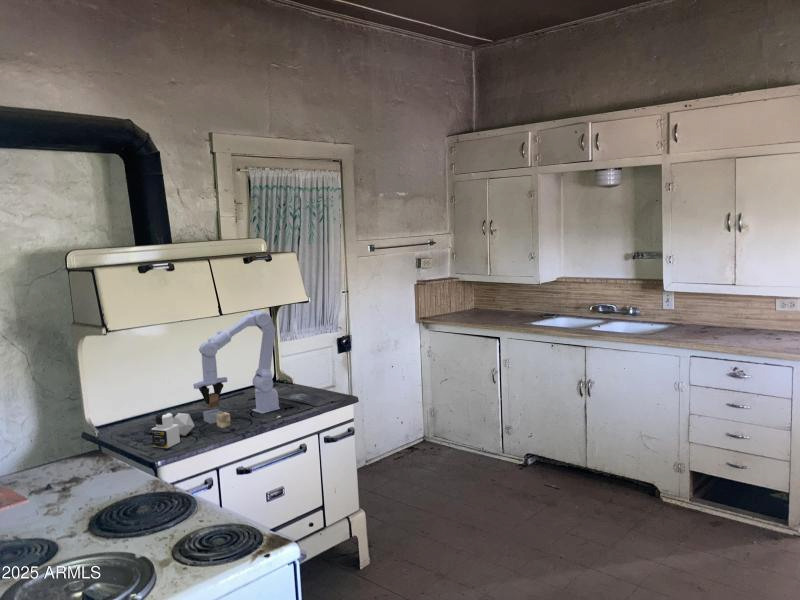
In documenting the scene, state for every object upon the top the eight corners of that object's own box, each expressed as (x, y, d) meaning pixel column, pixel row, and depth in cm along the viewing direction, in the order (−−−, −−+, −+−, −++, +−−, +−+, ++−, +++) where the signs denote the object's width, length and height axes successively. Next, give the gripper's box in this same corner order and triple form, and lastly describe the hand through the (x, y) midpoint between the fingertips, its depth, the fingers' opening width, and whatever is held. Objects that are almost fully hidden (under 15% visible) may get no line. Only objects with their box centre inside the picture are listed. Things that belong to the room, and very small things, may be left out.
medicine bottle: (152, 447, 245) (149, 416, 243) (165, 440, 251) (162, 410, 250) (167, 448, 242) (164, 417, 241) (180, 442, 249) (177, 411, 247)
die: (199, 433, 261) (192, 410, 265) (190, 429, 252) (183, 405, 256) (179, 442, 260) (173, 419, 264) (170, 438, 252) (163, 415, 256)
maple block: (225, 423, 270) (224, 412, 269) (230, 425, 267) (229, 413, 266) (216, 426, 267) (216, 414, 266) (222, 428, 264) (221, 416, 264)
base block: (217, 418, 279) (216, 408, 279) (223, 420, 275) (222, 411, 274) (203, 421, 275) (203, 412, 275) (210, 424, 271) (209, 414, 270)
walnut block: (219, 405, 274) (218, 394, 273) (210, 407, 271) (209, 396, 271) (214, 404, 277) (213, 392, 276) (205, 406, 274) (204, 394, 273)
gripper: (220, 365, 280) (222, 396, 282) (188, 372, 270) (191, 404, 272) (229, 368, 275) (231, 399, 277) (197, 374, 265) (199, 407, 267)
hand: (212, 402), depth 274 cm, fingers closed on walnut block, 4 cm apart
